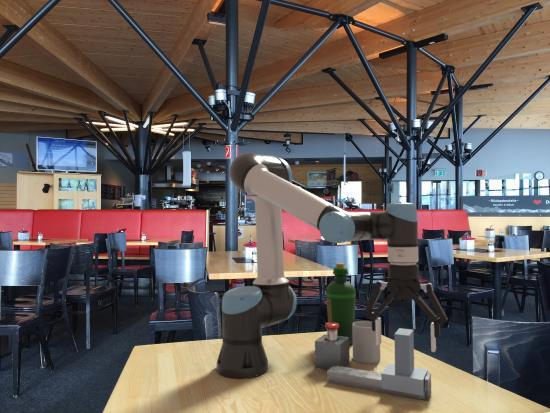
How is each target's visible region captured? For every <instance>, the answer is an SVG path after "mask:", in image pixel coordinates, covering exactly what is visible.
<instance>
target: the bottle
mask: <svg viewBox="0 0 550 413" xmlns="http://www.w3.org/2000/svg"><path fill="white" fill-rule="evenodd" d="M332 275H334V281H332V282H331V283H329V284H328V285H327V287H326V288H325V296H326V309H327V323H329V322H334V323H338V324H339V328H338V329H337V336H343V337H349V346H351V345H353V331H352V324H353V323H354V322H356V321H355V319H356V318H355V317H356V295H357V294H356V293H357V291H356V290H357V289H356V287H354V285H353V284H352V282H351V283H350V282H349V281H347V275H349V270H348V267H347V266H346V263H345V262H344V263H343V262H339V263H338V262H337V263H335V266H334V267H333V271H332Z"/></svg>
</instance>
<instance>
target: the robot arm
mask: <svg viewBox="0 0 550 413" xmlns="http://www.w3.org/2000/svg"><path fill="white" fill-rule="evenodd" d="M228 172H229V178H230V181H231V182H232V184H233V185H234V187H236V188H238V190H240V191H242V192H244V193H246V194H248V195H249V197H250V198H249V199H251V200H252V201H254V208H255V209H254V210H255V211H254V212H255V215H254V216H255V238H256V240H255V242H256V245H255V246H256V268H257V270H256V273H257V276H256V278H255V279H254V280H253V282H252V285H245V286H238V287H234V288H231V289H229V290H227V291H226V292H224V294H223V295H222V305H221V314H222V315H221V317H222V318H221V319H222V320H221V321H222V323H221V324H222V325H221V327H222V329H221V330H222V342H221V343H222V344H221V348H220V350H219V354H218V357H217V360H216V372H217V373H218V374H219V375H220V376H221V375H222V376H223V377H227V378H233V379H246V378H247V379H248V378H253V377H257V376H260V375H263V374H265V373H266V372H267V371H268V369H269V361H268V357H267V354H266V351H265V348H264V345H263V331H262V330H263V328H266V327H270V326H273V325H278V324H281V323H283V322H286V320H287V321H288V320H289V319H290V318H291V317H292V316H293V314H294V313H295V312H296V309H297V303H298V302H297V301H298V300H297V295H296V293H295V292H294V291H293V290H294V289H293V288H292V287H291V286H290V281H289V280H288V278H287V277H286V276H285V268H284V267H285V266H284V265H285V264H284V242H283V241H284V237H283V211H284V212H286V213H288V214H290V215H291V216H293V217H295V218H297V219H299V220H300V221H302V222H304V223H306V224H307V225H308V226H311V227H312V228H314V229H315V230H318V231H319V233H320V234H321V236H322V238H323V239H324V240H325V241H327V242H330V243H335V244H343V243H346V242H355V241H366V240H367V241H368V240H375V241H376V240H377V241H379V240H382V241H387V262H389V263H388V265H387V270H388V271H387V276H388V277H387V278H388V280H387V281H386V282H385V281H382V280H381V279H380V280H378V281H376V283H375V290H374V292H373V294H372V296H371V299H370V301H369V302H368V305H367V307H366V308H365V311H364V313H363V315H364V316H365V317H369V318H370V319H371V322H372V331H376V345H380V346H381V344H382V318H381V317H379V315H380V314H381V313H382V312H383V311H384V310H385V309H386V307H388V305H389V304H390V303H391V302H392V301H393V300H394V299H395V300H396V301H406V302H407V301H408V302H411V301H412V300H413V301H414V303H415V304H417V306H419V309H421V310H422V311H423V312H424V314H425V315H426V316H427V317H428V319H429V320H430V321H431V324H430V344H431V346H430V347H431V349H430V351H431V352H432V353H435V352H436V351H437V341H436V340H437V339H438V338H440V336H441V324H445V323H447V322H448V316H447V314H446V313H445V311H444V309H443V306H442V305H441V303H440V301H439V300H438V298H437V295H436V294H435V292H434V286H433V283H432V282H428V283H423V284H422V283H420V269H419V267H420V266H419V264H417V263H418V262H419V244H418V243H419V241H418V240H419V238H418V237H419V236H418V235H419V234H418V233H419V231H418V230H419V229H418V224H419V223H418V222H419V219H418V212H417V206H416V204H414V203H413V202H397V203H396V202H393V203H387V205H386V209H385V210H383V211H347V210H345V209H342V208H340V207H338V206H336V205H334V203H331V202H328V201H326V200H325V199H323V198H321V197H319V196H317V195H315V194H314V193H311V192H309V191H308V190H306V189H304V188H302V187H300V186H298V185H296V184H293V183H292V181H293V173H292V169H291V166H290V164H289V163H288V162H287V161H286V160H284V159H283V158H282V157H281V158H280V157H278V156H275V155H267V154H262V153H255V152H254V153H253V152H245V153H241V154H239V155H237V156H236V157H234V159H233V160H232V162H231V163H230V167H229V171H228ZM385 288H387V290H388V291H389V292H390V293H389V295H388V296H387V297H386V298H385V299H384V301H383V302H382V303H381V304H380V305H379V306H378V307H377V309H376V310H375V311H373V309H374V308H375V306H376V303H377V302H378V300H379V298H380V295H381V293H382V291H384V290H385ZM421 290H423V292H424V294H425V293H427V296H428V298H429V301H430V302H431V305H432V306H433V308H434V310H435V312H436V313H437V315H436V314H435V312H434V311H433V309H431V307H430V306H429V305H428V304H427V302H425V300H424V299H423V297H422V296H421V295H420V294H419V293H420V291H421Z"/></svg>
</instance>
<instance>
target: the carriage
mask: <svg viewBox="0 0 550 413" xmlns="http://www.w3.org/2000/svg"><path fill="white" fill-rule="evenodd" d="M414 334H415V333H414V329H409V328H400V327H399V328H398V329H397V331H395V333H394V363H387V365H386V366H385V367H384V369H383V370H382V372H380V373H381V382H382V389H387V390H393V391H399V392H404V393H410V394H416V395H421V396H423V395H424V385H425V378H426V375H427V373H429V371H428V369H427V368H421V367H416V366H415V350H414V349H415V346H414V345H415V343H414V342H415V341H414V338H415V337H414Z"/></svg>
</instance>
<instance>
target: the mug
mask: <svg viewBox="0 0 550 413" xmlns="http://www.w3.org/2000/svg"><path fill="white" fill-rule="evenodd" d="M352 331H353V344H352V360H353V361H354V362H357V363H358V364H359V363H360V364H367V365H372V364H373V365H374V364H377V363H379V362H380V361H381V344H380V345H376V331H372V320H371V321H370V320H359V321H355V322H354V323H353V324H352Z"/></svg>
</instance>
